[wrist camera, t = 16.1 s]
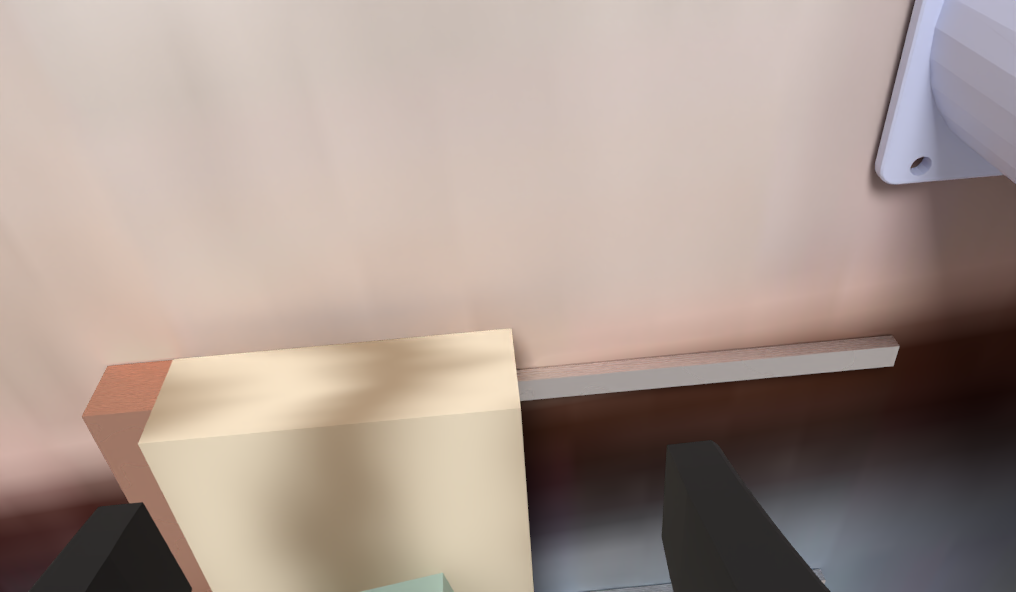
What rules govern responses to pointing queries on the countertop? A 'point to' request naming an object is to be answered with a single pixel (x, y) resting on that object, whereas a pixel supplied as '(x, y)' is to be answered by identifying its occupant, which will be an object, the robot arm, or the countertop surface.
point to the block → (418, 585)
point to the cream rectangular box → (348, 465)
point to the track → (136, 387)
